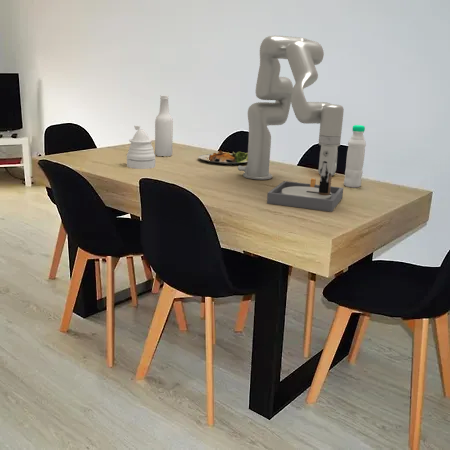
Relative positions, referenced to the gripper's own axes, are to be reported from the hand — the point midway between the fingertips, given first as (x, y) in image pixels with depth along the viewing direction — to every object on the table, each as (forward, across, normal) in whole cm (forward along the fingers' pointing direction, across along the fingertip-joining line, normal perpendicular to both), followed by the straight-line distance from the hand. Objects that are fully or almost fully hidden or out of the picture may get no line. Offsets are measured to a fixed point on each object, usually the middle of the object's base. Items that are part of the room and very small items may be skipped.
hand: (324, 190), depth 198 cm
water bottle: (+4, +35, -6) cm, 36 cm away
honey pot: (+5, +26, +88) cm, 92 cm away
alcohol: (+4, +57, +92) cm, 109 cm away
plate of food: (+5, +60, +60) cm, 85 cm away
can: (+4, +53, +8) cm, 54 cm away
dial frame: (+4, 0, +6) cm, 8 cm away
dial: (+3, 0, +7) cm, 7 cm away
